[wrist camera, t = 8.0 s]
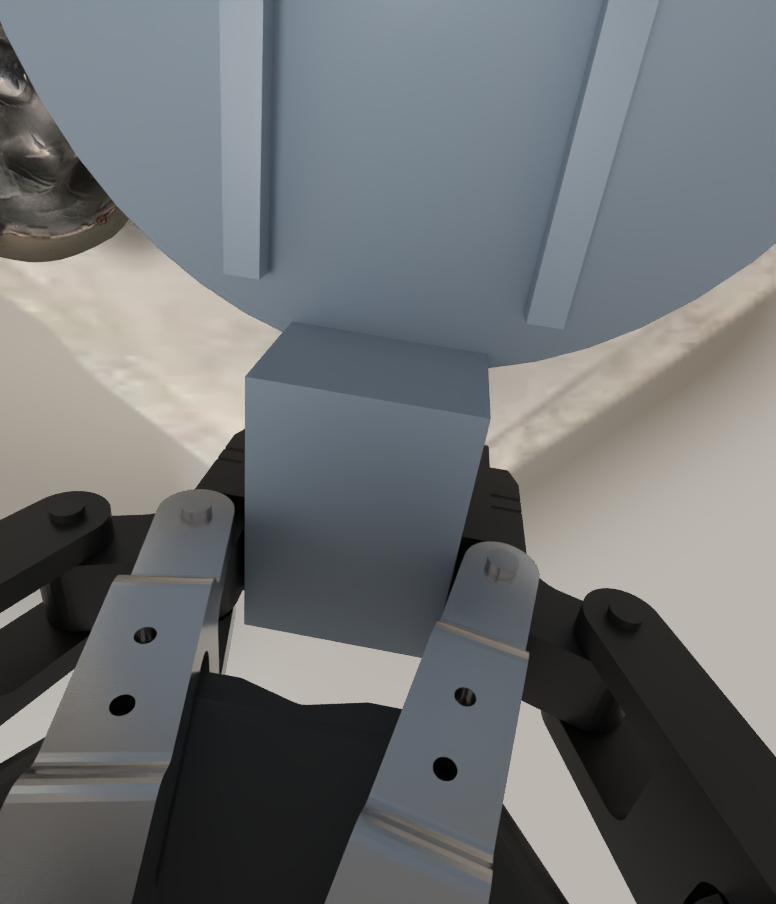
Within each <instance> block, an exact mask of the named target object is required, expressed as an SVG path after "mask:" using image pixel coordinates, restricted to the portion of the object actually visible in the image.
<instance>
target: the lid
mask: <svg viewBox="0 0 776 904" xmlns="http://www.w3.org/2000/svg"><path fill="white" fill-rule="evenodd" d="M0 22H1V24H2V27H3V29H4V31H5V34H6V36H7V37H8V39H9V41H10V43H11V45H12V47H13V49H14V51H15V53H16V55H17V56H18V58H19V60H20V62H21V64H22V66H23V68H24V70H25V72H26V74H27V75H28V77H29V79H30V81H31V83H32V85H33V87H34V89H35V91H36V92H37V94H38V96H39V98H40V100H41V101H42V103H43V104H44V106H45V108H46V109H47V111H48V112H49V114H50V115H51V117H52V118H53V120H54V121H55V123H56V124H57V126H58V127H59V129H60V131H61V132H62V134H63V135H64V137H65V138H66V140H67V141H68V143H69V144H70V146H71V147H72V149H73V151H74V152H75V154H76V155H77V157H78V158H79V159H80V160H81V162H82V163H83V164H84V165H85V167H86V168H87V169H88V170H89V172H90V173H91V174H92V175H93V177H94V178H95V179H96V180H97V182H98V183H99V184H100V185H101V187H102V188H103V189H104V191H105V192H106V193H107V194H108V196H109V197H110V198H111V199H112V201H113V202H114V203H115V204H116V206H117V207H118V208H119V209H120V210H121V211H122V212H123V213H124V214H125V215H126V216H127V217H128V218H129V219H130V220H131V221H132V222H133V223H134V224H135V225H136V226H137V227H138V228H139V229H140V230H141V231H142V232H143V233H144V234H145V235H146V236H147V237H148V238H149V239H150V240H151V242H152V243H153V244H154V245H155V246H156V247H157V248H158V249H160V250H161V251H162V252H163V253H164V254H166V255H167V256H168V257H169V258H170V259H172V260H173V261H174V262H175V263H176V264H178V265H179V266H180V267H181V268H182V269H184V270H185V271H186V272H187V273H188V274H190V275H191V276H192V277H193V278H195V279H196V280H197V281H198V282H199V283H201V284H202V285H203V286H205V287H207V288H208V289H210V290H211V291H213V292H214V293H216V294H217V295H219V296H220V297H222V298H223V299H225V300H226V301H228V302H229V303H231V304H232V305H234V306H235V307H237V308H238V309H240V310H241V311H243V312H244V313H246V314H248V315H250V316H252V317H254V318H256V319H258V320H260V321H262V322H264V323H266V324H268V325H270V326H272V327H274V328H276V329H278V330H280V331H282V332H283V333H282V334H281V335H280V336H279V337H278V339H277V340H276V341H275V342H274V343H273V345H272V346H271V347H270V348H269V349H268V350H267V352H266V353H265V354H264V355H263V356H262V357H261V359H260V360H259V361H258V362H257V363H256V365H255V366H254V367H253V368H252V369H251V370H250V372H249V373H248V374H247V375H246V376H245V603H244V605H245V606H244V611H245V613H244V614H245V615H244V617H245V618H244V620H245V621H244V623H245V624H246V625H252V626H257V627H262V628H268V629H273V630H278V631H283V632H289V633H294V634H299V635H304V636H310V637H315V638H321V639H325V640H331V641H336V642H341V643H346V644H352V645H357V646H362V647H368V648H373V649H378V650H383V651H389V652H394V653H399V654H405V655H410V656H415V657H420V658H422V657H423V654H424V651H425V649H426V646H427V643H428V641H429V638H430V636H431V633H432V630H433V628H434V625H435V623H436V621H437V620H438V619H439V620H440V619H441V616H442V614H443V611H444V607H445V602H446V598H447V594H448V590H449V586H450V582H451V578H452V574H453V570H454V566H455V562H456V558H457V553H458V549H459V545H460V541H461V537H462V533H463V529H464V525H465V521H466V517H467V513H468V509H469V504H470V500H471V496H472V492H473V488H474V484H475V480H476V476H477V472H478V468H479V464H480V460H481V455H482V451H483V447H484V443H485V439H486V435H487V431H488V427H489V423H490V399H489V379H488V368H492V367H499V366H507V365H514V364H521V363H528V362H536V361H540V360H543V359H547V358H551V357H555V356H559V355H563V354H566V353H570V352H574V351H578V350H582V349H586V348H589V347H592V346H594V345H597V344H600V343H602V342H605V341H607V340H610V339H612V338H615V337H618V336H620V335H623V334H625V333H628V332H631V331H633V330H636V329H638V328H641V327H643V326H645V325H647V324H649V323H651V322H653V321H655V320H657V319H659V318H661V317H663V316H664V315H666V314H668V313H670V312H672V311H674V310H676V309H678V308H680V307H682V306H684V305H686V304H688V303H690V302H691V301H693V300H695V299H697V298H699V297H700V296H702V295H703V294H705V293H706V292H708V291H709V290H711V289H712V288H714V287H715V286H717V285H718V284H720V283H721V282H723V281H724V280H726V279H728V278H729V277H731V276H732V275H734V274H735V273H737V272H738V271H740V270H741V269H743V268H744V267H746V266H747V265H749V264H750V263H752V262H753V261H754V260H756V259H757V258H758V257H759V256H760V255H762V254H763V253H764V252H765V251H767V250H768V249H769V248H770V247H772V246H773V245H774V244H775V243H776V0H0Z"/></svg>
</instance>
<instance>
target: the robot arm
mask: <svg viewBox="0 0 776 904" xmlns="http://www.w3.org/2000/svg"><path fill="white" fill-rule="evenodd" d="M38 589H40V591H41V595H42V599H43V602H42V603H40V604H39V605H37V606H36V607H34V608H32V609H31V610H29V611H28V612H27V613H25V614H23V615H21V616H20V617H18V618H17V619H15V620H14V621H12V622H11V623H9V624H8V625H6V626H4V627H3V628H1V629H0V726H1V725H2V724H3V723H5V722H6V721H7V720H8V719H10V718H11V717H12V716H14V715H15V714H16V713H17V712H19V711H20V710H21V709H23V708H24V707H25V706H27V705H28V704H29V703H30V702H32V701H33V700H34V699H36V698H37V697H38V696H40V695H41V694H42V693H43V692H45V691H46V690H47V689H49V688H50V687H51V686H53V685H54V684H55V683H56V682H58V681H59V680H60V679H62V678H63V677H64V676H65V675H67V674H68V673H69V672H70V671H72V670H73V669H75V670H74V672H73V674H72V677H71V679H70V681H69V684H68V686H67V688H66V691H65V693H64V695H63V698H62V700H61V702H60V705H59V707H58V709H57V711H56V714H55V716H54V718H53V721H52V723H51V725H50V728H49V730H48V732H47V735H46V737H45V738H43V739H41V740H39V741H38V742H36V743H34V744H33V745H31V746H29V747H28V748H26V749H24V750H22V751H21V752H19V753H17V754H16V755H14V756H12V757H11V758H9V759H7V760H5V761H4V762H2V763H0V904H569V903H568V901H567V900H566V898H565V897H564V895H563V894H562V892H561V891H560V889H559V888H558V886H557V885H556V883H555V882H554V880H553V879H552V877H551V876H550V874H549V873H548V871H547V870H546V868H545V867H544V865H543V864H542V862H541V861H540V859H539V858H538V856H537V855H536V853H535V852H534V850H533V849H532V847H531V845H530V844H529V843H528V841H527V840H526V838H525V836H524V835H523V833H522V832H521V830H520V829H519V827H518V826H517V824H516V823H515V821H514V820H513V819H512V817H511V816H510V814H509V812H508V811H507V809H506V808H505V806H504V805H503V798H504V793H505V787H506V782H507V776H508V771H509V765H510V760H511V754H512V749H513V743H514V738H515V732H516V726H517V721H518V715H519V710H520V704H521V700H522V701H524V702H526V703H528V704H530V705H532V706H534V707H536V708H538V709H540V710H541V714H542V718H543V720H544V723H545V725H546V727H547V729H548V731H549V733H550V735H551V737H552V739H553V741H554V743H555V745H556V747H557V749H558V751H559V752H560V755H561V756H562V758H563V760H564V762H565V764H566V766H567V768H568V770H569V772H570V774H571V776H572V778H573V780H574V782H575V784H576V786H577V788H578V790H579V792H580V794H581V796H582V798H583V799H584V801H585V803H586V805H587V807H588V809H589V811H590V813H591V815H592V817H593V819H594V821H595V823H596V825H597V827H598V829H599V831H600V833H601V835H602V837H603V839H604V841H605V843H606V844H607V846H608V848H609V850H610V852H611V854H612V856H613V858H614V860H615V862H616V864H617V866H618V868H619V870H620V872H621V874H622V876H623V878H624V880H625V881H626V884H627V886H628V887H629V889H630V891H631V893H632V895H633V897H634V899H635V901H636V903H637V904H776V757H775V756H774V754H773V753H772V752H771V751H770V749H769V748H768V747H767V746H766V745H765V743H764V742H763V741H762V740H761V739H760V737H759V736H758V735H757V734H756V732H755V731H754V730H753V729H752V728H751V726H750V725H749V724H748V723H747V721H746V720H745V719H744V718H743V717H742V715H741V714H740V713H739V712H738V711H737V709H736V708H735V707H734V706H733V704H732V703H731V702H730V701H729V700H728V698H727V697H726V696H725V695H724V694H723V692H722V691H721V690H720V689H719V687H718V686H717V685H716V684H715V682H714V681H713V680H712V679H711V678H710V676H709V675H708V674H707V673H706V672H705V670H704V669H703V668H702V667H701V665H700V664H699V663H698V662H697V661H696V659H695V658H694V657H693V656H692V655H691V653H690V652H689V651H688V650H687V648H686V647H685V646H684V645H683V644H682V642H681V641H680V640H679V639H678V637H677V636H676V635H675V634H674V633H673V631H672V630H671V629H670V628H669V627H668V625H667V624H666V623H665V622H664V621H663V619H662V618H661V617H660V616H659V614H658V613H657V612H656V611H655V610H654V609H653V608H652V607H651V606H650V605H648V604H647V603H646V602H644V601H643V600H641V599H640V598H638V597H636V596H634V595H632V594H630V593H627V592H624V591H621V590H617V589H610V588H602V589H596V590H594V591H592V592H590V593H588V594H587V595H586V597H585V598H584V601H582V600H579V599H577V598H574V597H572V596H570V595H567V594H565V593H563V592H560V591H558V590H556V589H554V588H553V587H551V586H549V585H548V584H546V583H545V582H543V581H542V580H541V579H540V578H539V570H538V568H537V565H536V564H535V562H534V561H533V560H532V559H531V558H530V557H529V556H528V555H527V554H526V546H525V537H524V529H523V520H522V514H521V503H520V494H519V486H518V484H517V483H516V481H515V480H514V478H513V477H512V476H511V474H510V473H509V472H508V471H507V470H501V469H496V468H490V466H489V447H488V446H487V445H484V447H483V451H482V455H481V460H480V464H479V468H478V472H477V476H476V480H475V484H474V488H473V492H472V496H471V500H470V504H469V509H468V513H467V517H466V521H465V525H464V529H463V533H462V537H461V541H460V545H459V549H458V553H457V558H456V562H455V566H454V570H453V574H452V578H451V582H450V586H449V590H448V594H447V598H446V602H445V607H444V611H443V614H442V616H441V619H440V620H439V619H438V620H437V621H436V623H435V625H434V628H433V630H432V633H431V636H430V638H429V641H428V643H427V646H426V649H425V651H424V654H423V657H422V659H421V662H420V664H419V667H418V670H417V672H416V675H415V678H414V680H413V683H412V685H411V688H410V690H409V693H408V696H407V698H406V701H405V703H404V706H403V709H398V708H393V707H388V706H382V705H378V704H373V703H346V704H321V705H301V704H297V703H294V702H292V701H290V700H288V699H286V698H283V697H281V696H279V695H277V694H275V693H273V692H270V691H268V690H266V689H264V688H262V687H260V686H257V685H255V684H253V683H251V682H249V681H247V680H245V679H242V678H239V677H233V676H228V675H225V672H226V666H227V661H228V655H229V649H230V643H231V637H232V631H233V625H234V620H235V604H236V603H237V601H238V598H239V596H240V594H241V592H242V590H245V429H244V430H242V431H240V432H239V433H237V434H235V435H234V436H233V438H232V439H231V440H230V442H229V443H228V444H227V446H226V449H224V450H223V451H222V453H221V454H220V455H219V457H218V459H217V460H216V461H215V462H214V464H213V465H212V466H211V468H210V469H209V471H208V472H207V473H206V475H205V476H204V477H203V479H202V480H201V481H200V483H199V484H198V486H197V487H196V488H195V489H194V490H187V491H182V492H179V493H176V494H174V495H171V496H170V497H168V498H166V499H165V500H164V501H163V502H162V503H161V504H160V505H159V507H158V509H157V511H156V513H155V514H149V515H148V514H147V515H126V516H112V514H111V508H110V504H109V502H108V501H107V500H106V499H105V498H103V497H102V496H100V495H97V494H95V493H91V492H85V491H71V492H63V493H59V494H55V495H52V496H49V497H46V498H44V499H42V500H40V501H38V502H36V503H34V504H32V505H30V506H28V507H26V508H24V509H22V510H20V511H18V512H16V513H14V514H12V515H10V516H8V517H6V518H4V519H2V520H0V613H1V612H3V611H4V610H6V609H8V608H9V607H11V606H12V605H14V604H15V603H17V602H19V601H20V600H22V599H24V598H25V597H27V596H28V595H30V594H32V593H33V592H35V591H36V590H38Z"/></svg>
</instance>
